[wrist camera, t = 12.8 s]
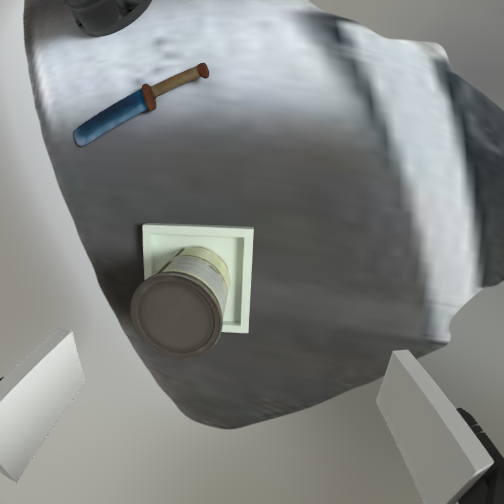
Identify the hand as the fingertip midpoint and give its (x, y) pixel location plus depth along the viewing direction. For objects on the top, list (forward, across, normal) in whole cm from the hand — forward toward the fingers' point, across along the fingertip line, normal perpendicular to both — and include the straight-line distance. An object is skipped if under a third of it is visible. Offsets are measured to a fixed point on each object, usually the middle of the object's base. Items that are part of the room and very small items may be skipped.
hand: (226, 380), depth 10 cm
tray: (+33, -7, -7) cm, 34 cm away
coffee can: (+32, -7, -7) cm, 34 cm away
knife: (+33, -18, +19) cm, 42 cm away
